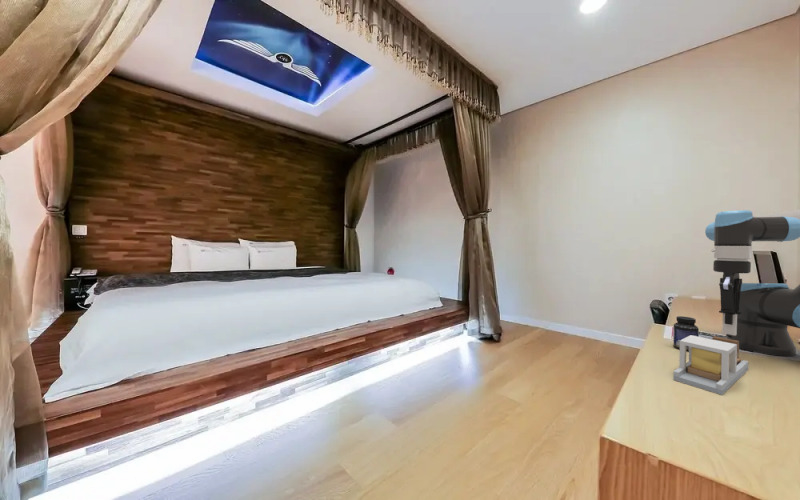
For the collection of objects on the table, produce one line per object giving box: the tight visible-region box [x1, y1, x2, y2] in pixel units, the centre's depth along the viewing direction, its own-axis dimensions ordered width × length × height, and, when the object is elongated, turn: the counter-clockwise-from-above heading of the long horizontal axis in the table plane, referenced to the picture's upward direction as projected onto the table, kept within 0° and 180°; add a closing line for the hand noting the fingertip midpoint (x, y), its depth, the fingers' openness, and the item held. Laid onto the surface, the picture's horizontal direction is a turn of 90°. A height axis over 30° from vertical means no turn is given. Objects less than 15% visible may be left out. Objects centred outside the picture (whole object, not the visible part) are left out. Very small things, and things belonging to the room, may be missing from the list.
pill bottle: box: [673, 315, 700, 352], centre depth 97 cm, size 6×6×11 cm
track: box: [672, 335, 749, 396], centre depth 78 cm, size 27×9×10 cm, turn 120°
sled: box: [688, 336, 742, 381], centre depth 79 cm, size 22×6×7 cm, turn 120°
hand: (729, 333), depth 87 cm, fingers closed
